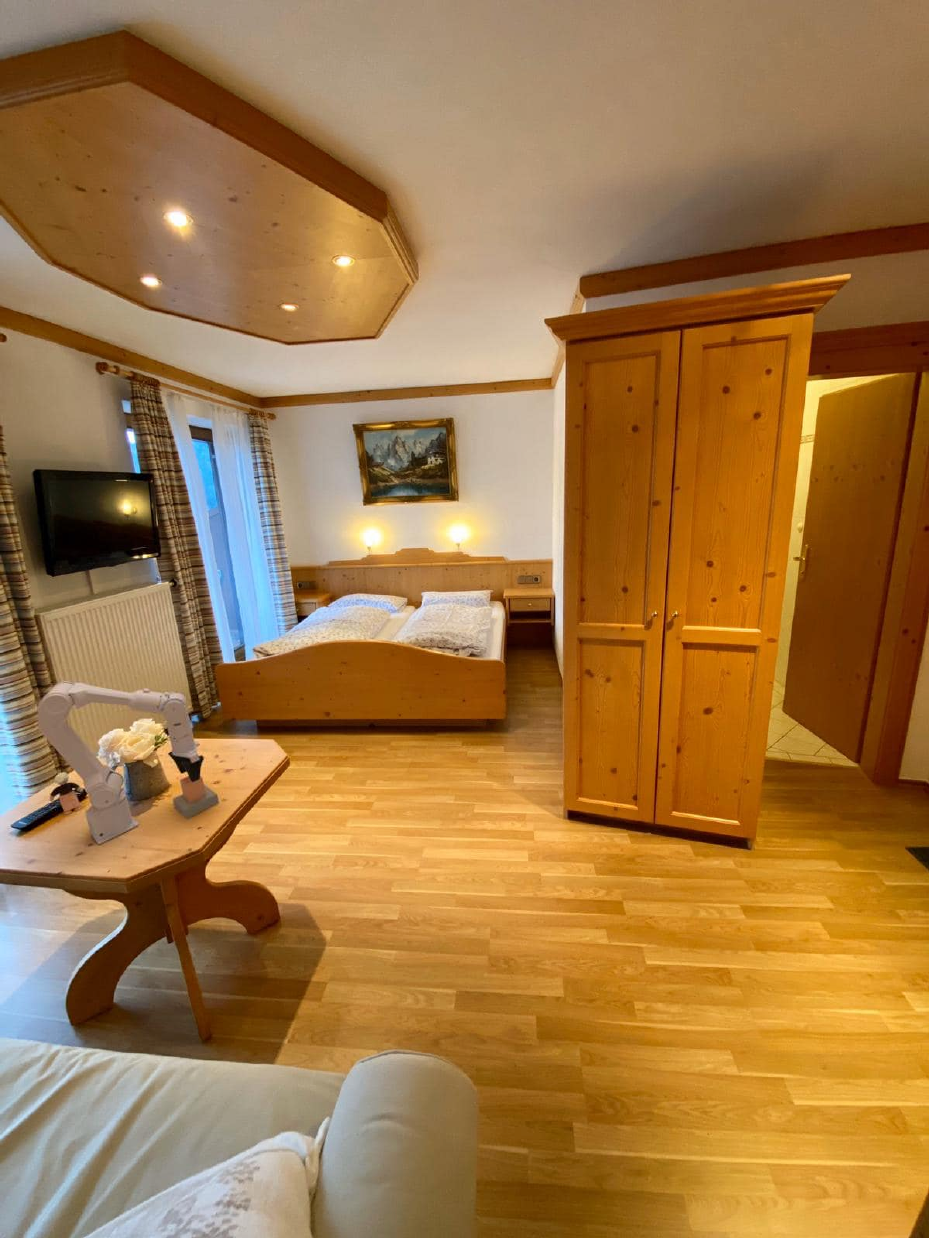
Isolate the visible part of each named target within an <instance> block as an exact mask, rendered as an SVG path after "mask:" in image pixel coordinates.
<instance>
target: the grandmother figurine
mask: <svg viewBox="0 0 929 1238" xmlns="http://www.w3.org/2000/svg"><path fill="white" fill-rule="evenodd" d="M53 781H54V784H57V786H56V787H55V788H54V789H52V791H51V793H50V794H49V795H50V796H49V802H53V801H54V800H55V797H56V796H58V795H59V801H60V804H61V807H62V809H63V813H64V815H70V814H71V813H72V812H73V810H74V812H78V811H80V810H81V809H82V808H83V806H84V805H83V804H81V803H80V801H79V798H78V796H77V793H76V792H75V790H77V791H78V792H79V793H82V792H83V791H84V789H83V788H82V787H81V786H80V784H78V783H75V782H72V781H71V782H69V775H68V773H67V772H66V771H63V772H59V773H58V774H57V775H55V777H54V780H53Z"/></svg>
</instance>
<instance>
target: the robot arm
mask: <svg viewBox="0 0 929 1238" xmlns="http://www.w3.org/2000/svg"><path fill="white" fill-rule="evenodd" d="M91 703H92V704H94V703H96V704H106V705H120V706H128V707H129V708H130V710H132V711H134V712H142V713H143V712H144V713H150V714H158V715H160V714H162V716H164V718H165V719H166V720H165V721H166V723H165V724H166V727H167V732H168V736H169V741H170V747H171V751H170V752H168V753H167V754H168V756H169V757H170V758H171V759H172V760H173V762H174V763H175V766H176V767H177V769H178V772H180V775H181V774H184V773H187V776H189V778H190V780H191V781H192V782H195V781H197V780H199V779H200V776H201V769H202V765H203V762H204V760H205V757H204V756H203V754H201V755H199V753H198V751H197V749H198V746H201V745H200V742H199V741H195V738H194V733H193V727H192V723H191V719H190V716H189V712H188V709H187V704H188V703H187V697H186V696H185V694H184V693H181V692H178V691H171V692H168V691H165V692H158V691H157V692H156V691H153V690H152V691H151V689H150V688H143V689H138V690H136V691H133V692H128V691H123V690H117V689H111V688H106V687H102V686H101V687H100V686H96V685H95V686H94V685H91V684H90V685H89V684H87V683H84V682H72V681H65V680H64V681H61V682H58V683H56V684H55V685H53V686H52V688H51V689H50V691H49V692H47V694H46V695H44V696H43V697H42V698H41V700H40V702H39V703H38V705H37V707H36V712H37V713H38V714H37V720H38V721H37V727H38V730H39V733H41V734H42V735H43V737H44V738H45V739H46V740H47V741H48V742H49V743H50V744H51V745H52V747H54V749H55V750H56V751H57V753H59V754H60V755H61V757H62V758H63V759H64V760H65V761H66V763H67V764H68V765H69V766H70V767H71V768H72V769H73V770H74V772H75V773H77V775H78V776H79V777H80V778H81V779H82V781H83V786H84V790H85V792H86V794H87V795H88V797H89V803H90V804H91V807H90V808H89V809H86V810H85V811H84V815H85V819H86V821H87V825H88V828H89V833H90V835H91V836H92V838H93V839H94V840H95V842H96V844H98V845H101V844H103V843H105V842H107V841H109V840H112V839H113V838H116V837H118V836H120V835H122V834H124V833H126V832H128V831H130V830H132V829H135V828H136V827H138V826H139V823H138V822H137V820H136V819H135V818H134V817H133V815H132V813H131V812H132V811H131V810H130V805H129V801H128V798H127V793H126V792H125V791H124V790H123V789H122V787H123V785H124V782H125V778H124V777H123V775H122V774H121V773H120V772H118V771H115V770H114V769H112V768H111V766H108V765H104V764H103V763H102V762H101V761H100V759H99V758H98V757H97V756H96V755H95V754H94V752H93V751H92V750H91V749H90V748H89V746H87V744H86V743H85V741H84V740H83V739H81V737H80V736H79V735H78V733H77V732H76V731H75V730H74V729H73V727H72V726H71V725H70V724H69V723H68V721H67V720H68V717H69V715H70V711H71V710H72V708H73V707H74V706H75V710H77V709H80V708H82V707H84V706H87V705H90V704H91Z"/></svg>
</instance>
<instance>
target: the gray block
mask: <svg viewBox="0 0 929 1238" xmlns="http://www.w3.org/2000/svg"><path fill="white" fill-rule="evenodd" d="M204 788H205V792H206V796H204V797H202V798H200V799H198V800H195V801H193V802H191V803H190V802H188V801H187V800H186V799H185V798H184V796H183V793H182V794H180V795H178V796H176V797H174V798H172V801H173V806H174V808H175V809H176V810H177V812H179V813H180V815H182V816H183V817H185V819H187V820H188V819H190V818H192V817H195V816H196V815H198V814H200V813H202V812H204V811H206V810H208V809H210V808H212V807H214V806H216V805H218V804H220V801H219V797H218V793H216V792H215V791H214V790H212V789H211V788H210V787H208V786H207V785H206V784H204Z"/></svg>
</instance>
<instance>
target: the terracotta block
mask: <svg viewBox="0 0 929 1238" xmlns="http://www.w3.org/2000/svg"><path fill="white" fill-rule="evenodd" d="M179 781H180V786H181V791H182V794H183V796H184V798H185V799H186V800H187V801H188V802H190V803H191V802H193V801H195V800H198V799H200V798H202V797H204V796H206V792H205V788H204V785H205V783H204V779H203V777H202V776H201V775H200V779H199V780H197V781H195V782H192V781H191V780H190V778H189V775H187V776H185V777H183V778H180V779H179Z"/></svg>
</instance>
